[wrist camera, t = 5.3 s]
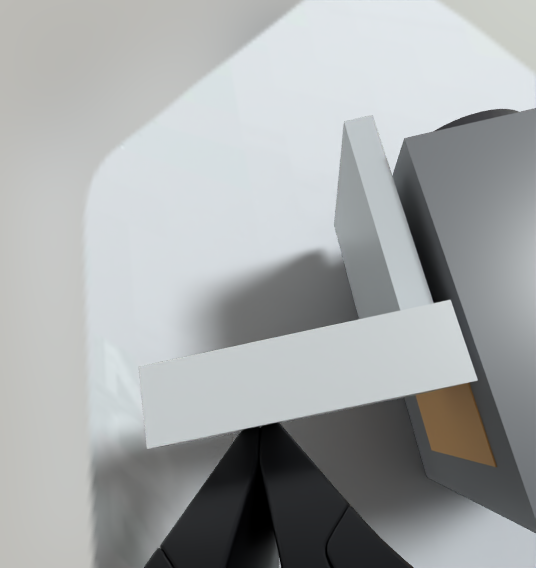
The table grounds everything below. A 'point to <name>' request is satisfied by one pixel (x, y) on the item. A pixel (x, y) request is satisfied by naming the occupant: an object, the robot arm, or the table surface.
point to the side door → (325, 330)
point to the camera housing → (480, 302)
